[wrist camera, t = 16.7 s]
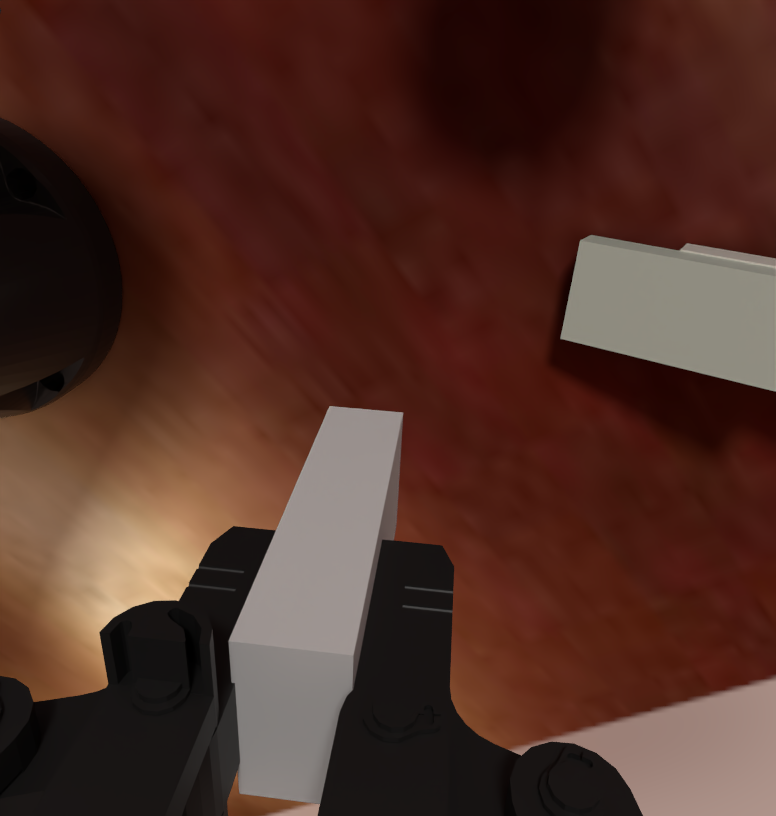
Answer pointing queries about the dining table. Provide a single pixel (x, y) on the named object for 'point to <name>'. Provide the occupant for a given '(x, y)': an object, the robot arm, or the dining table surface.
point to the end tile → (675, 309)
